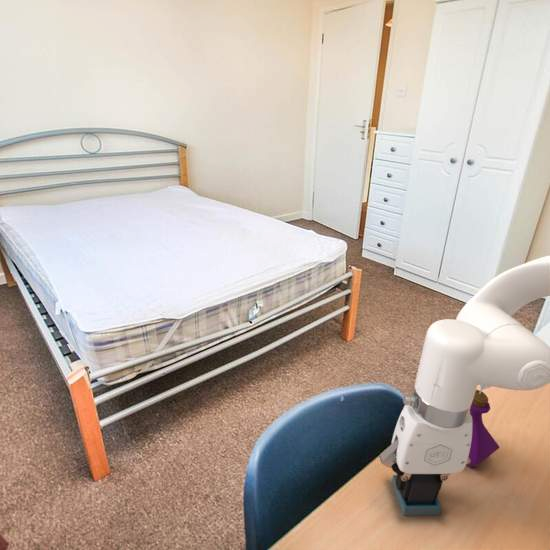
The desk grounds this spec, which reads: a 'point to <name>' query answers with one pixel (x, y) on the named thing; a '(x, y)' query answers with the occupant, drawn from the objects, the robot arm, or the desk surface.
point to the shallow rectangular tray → (416, 504)
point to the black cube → (422, 488)
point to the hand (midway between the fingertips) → (416, 489)
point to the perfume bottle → (480, 430)
